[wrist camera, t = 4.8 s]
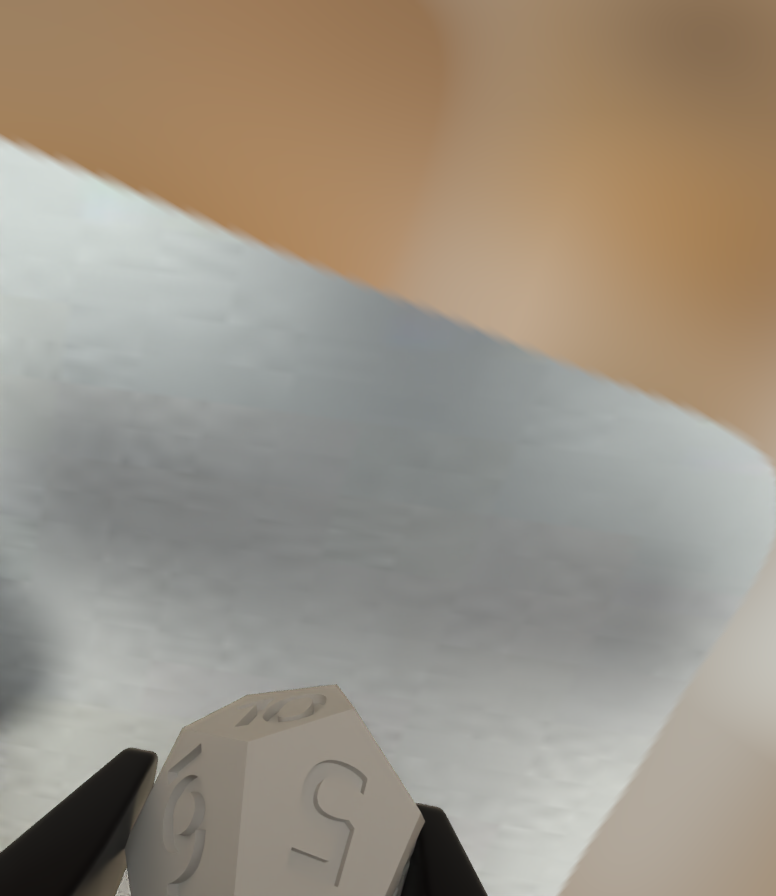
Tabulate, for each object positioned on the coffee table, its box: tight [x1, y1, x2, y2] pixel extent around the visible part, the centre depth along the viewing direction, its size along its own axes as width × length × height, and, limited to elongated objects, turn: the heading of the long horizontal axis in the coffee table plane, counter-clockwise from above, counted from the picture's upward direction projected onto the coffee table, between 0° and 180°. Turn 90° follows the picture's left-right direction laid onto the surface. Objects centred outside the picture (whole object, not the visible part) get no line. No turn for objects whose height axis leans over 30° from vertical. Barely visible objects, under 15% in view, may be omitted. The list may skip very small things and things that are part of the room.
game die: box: [125, 684, 425, 896], centre depth 7 cm, size 4×4×3 cm
